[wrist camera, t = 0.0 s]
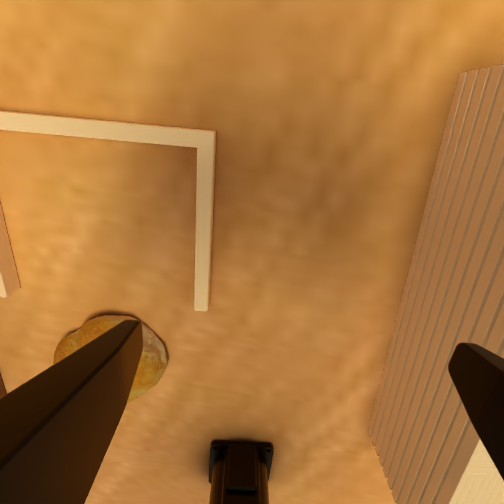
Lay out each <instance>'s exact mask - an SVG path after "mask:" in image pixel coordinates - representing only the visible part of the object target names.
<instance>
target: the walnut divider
mask: <svg viewBox="0 0 504 504" xmlns="http://www.w3.org/2000/svg"><path fill="white" fill-rule="evenodd" d="M5 395H7V394H6V390H5V387H4V384H3V381H2V377H1V374H0V398H2V397H3V396H5Z"/></svg>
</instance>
